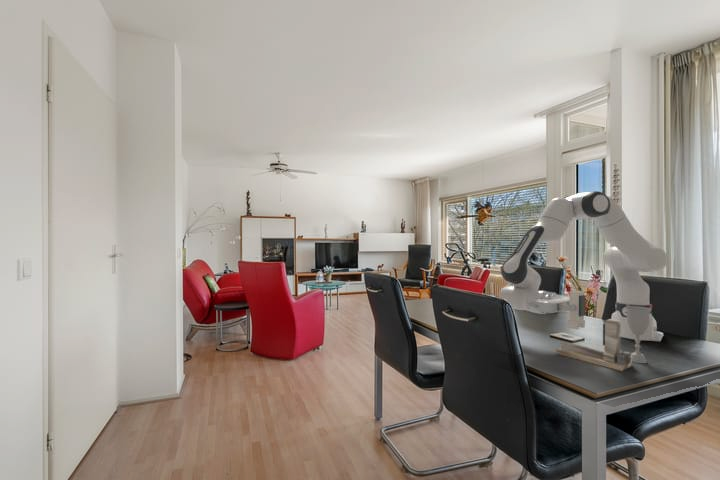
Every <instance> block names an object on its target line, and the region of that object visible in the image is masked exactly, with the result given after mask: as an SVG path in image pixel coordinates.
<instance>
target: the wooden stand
mask: <svg viewBox="0 0 720 480" xmlns="http://www.w3.org/2000/svg"><path fill="white" fill-rule="evenodd" d="M621 338H622V337H621V321H620V320H614V319H611V318H608V319H605V320H604V323H603V324H602V346H604V350H601V349H596V348H592V347H587V346H583V345H579V344H575V343H570V342H566V341H561V342H560V345H559V346H560V347H559V348H556V349H555V354H557V355H561V356H564V357H568V358H572V359H576V360H579V361H584V362H587V363H590V364H593V365H594V364H595V365H597V366H601V367H606V368H610V369H612V370H613V369H614V370H616V371H620V372H623V371H625V370H627V369H630V368H631V367H633V361H631V354H632V352H629V351H623V352H622V351H621V349H622V348H621V342H622V341H621V340H622V339H621Z"/></svg>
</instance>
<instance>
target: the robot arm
mask: <svg viewBox="0 0 720 480" xmlns="http://www.w3.org/2000/svg"><path fill="white" fill-rule="evenodd" d="M587 219H592V221H593V222H594V224H595V226H596V228H597V229H598V231H599V233H600V235H601V236H602V238H603V240H604V241H605V242H606V243H607V244H609V245H611V246H610V247H608V248H606V249H605V251H604V252H603V255H602V258H603V259H602V260H603V262H604V264H605V266H607V267H608V268H609V269H610V271H611V272H612V274H613V277H614V280H615V284H616V301H615V304H614V305H615V308H614V309H615V311H614V312H613V313H612V314H611V318H610V319H614V320H620V321H621V338H624V339H628V340H634V341H635V340H636V335H635V334H633V333H632V331H631V329H630V327H629V325H628V323H627V309H626V307H625V306H640V307H646V308H650V309H651V311H650V312H649V325H648V328H647V329H646V331H645V332H644V334H643V335H640V337H639V338H640V341H652V342H661V341H662V339H663V337H664V332H661V331H658V327H657V321H656V319H655V317H654V316H653V314H652V312H653V311H652V308H653V304H650V292H651V291H650V285H649V284H648V283H647V282H646V281H645V280H643V278H642V276H641V275H640V273H641V272H642V273H651V272H652V273H653V272H660V271H662V270H664V269H665V268H666V266H667V263H668V254H667V253H666V251H665V250H664V249H663V248H661V247H658V246H656V245H654V244H652V243H651V242H649V240H647V239H645V238H644V237H643V236H642V235H641V234H640V233H639V232H638V231H637V230H636V229H635V228H634V226H633V224H632V223H631V222H630V220H629V218H628V217H627V214H625V212H624V210H623V209H622V207H621V206H620V205H619V203H618V202H617V201H616V200H615V199H614V198H613V197H611V196H608V195H607V194H605V193H604V192H601V191H596V190H593V191H587V192H586V191H585V192H579V193H576V194H573V195H568V196H567V195H566V196H565V197H555V198H553V199H551V200H550V201H549V202H548V204H547V205H546V206H545V208H544V209H543V210H542V213H540V216H539V218H538V220H537V222H536V223H535V224H534V225H533V226H530V228H528V230H527V231H526V232H525V234H524V236H523V237H522V238H521V239H520V242H519V243H518V245H517V246H516V248H515V249H514V250H513V252H512V253H511V254H510V256H509V257H508V258H506V260H505V261H504V263H503V264H502V266H501V269H500V273H501V277H502V278H503V280H505V281H507V282H509V283H508V284H507V285H505V286H504V287H502V288H501V289H500V292H499V299H500V298H502V299H506V300H507V301H508V302H509V303H510V304H511V305H512V308H511V309H515V310H520V311H527V312H531V313H534V314H540V315H545V314H553V313H554V314H555V313H559V312H564V311H576V310H577V309H576V308H577V307H576V306H573V305H569V300H570V296H568V295H562V294H557V293H556V292H553V291H547V290H540V287H541V285H542V277H541V275H540V273H539V272H537V270H535V269H534V268H533V267H531V266H530V265H529V259H530V257H531V256H532V255H533V253H534V251H535V249H536V248H537V247H538V245H540V244H541V243H545V244H553V243H557V242H558V241H560V240H561V239H562V238H563V236H564V235H565V233H566V231H567V229H568V228H569V224H570V222H571V221H577V220H579V221H580V220H587Z"/></svg>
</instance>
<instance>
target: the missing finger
mask: <svg viewBox="0 0 720 480" xmlns="http://www.w3.org/2000/svg"><path fill="white" fill-rule="evenodd" d="M569 297H570V300H569V305H573V306H576V307H577V308H576V309H577V310H576V311H569V313H568V315H569V318H568V320H567V328H569V329H573V330H579V329H580V328H583V329H584V328H585V327H586V326H585V325H586V319H584V318H585V316H586V304H587V303H586V299H587V298H586V294H585V291H583V290H576V289H574V290H569Z"/></svg>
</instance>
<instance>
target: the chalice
mask: <svg viewBox="0 0 720 480" xmlns="http://www.w3.org/2000/svg"><path fill="white" fill-rule="evenodd" d="M625 307H626V309H627V323H628V325H629V327H630V329H631V331H632V333H633V334H635V335H636V340H635V339H634V342H635V345H634V347H635V351H634V352H631V361H632V363H639V364H647V363H648V362H647V361H648V360H646V357H645V355H644V354H643V353H641V352H640V349H641V348H642V346H641V345H640V343H641V342H642V340H640V338H639V337H640V335H643V334H644V332H645V331H646V329H647V328H648V325H649V312H650V311H651V312H652V309H650V308H646V307H640V306H625Z"/></svg>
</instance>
